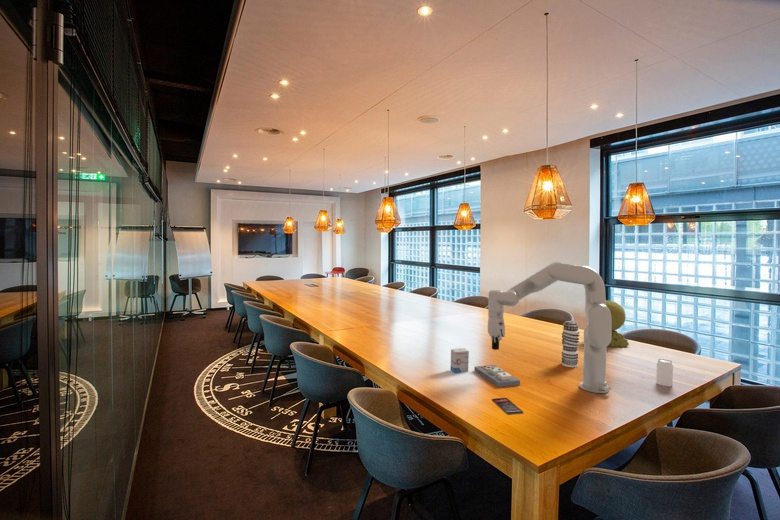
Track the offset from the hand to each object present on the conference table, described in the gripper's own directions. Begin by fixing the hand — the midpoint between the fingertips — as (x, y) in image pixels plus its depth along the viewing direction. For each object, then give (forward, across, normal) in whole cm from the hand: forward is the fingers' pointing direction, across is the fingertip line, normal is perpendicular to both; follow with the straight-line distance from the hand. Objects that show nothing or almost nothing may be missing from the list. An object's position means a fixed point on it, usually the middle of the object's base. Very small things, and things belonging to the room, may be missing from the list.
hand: (495, 349), depth 196 cm
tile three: (+14, +6, 0) cm, 15 cm away
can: (+15, -29, -77) cm, 83 cm away
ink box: (+15, +12, +15) cm, 24 cm away
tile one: (+13, -9, 0) cm, 15 cm away
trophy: (+15, +41, -110) cm, 118 cm away
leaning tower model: (+15, +7, -52) cm, 54 cm away
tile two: (+13, -1, 0) cm, 13 cm away
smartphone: (+15, -33, +13) cm, 39 cm away
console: (+15, -1, 0) cm, 15 cm away
